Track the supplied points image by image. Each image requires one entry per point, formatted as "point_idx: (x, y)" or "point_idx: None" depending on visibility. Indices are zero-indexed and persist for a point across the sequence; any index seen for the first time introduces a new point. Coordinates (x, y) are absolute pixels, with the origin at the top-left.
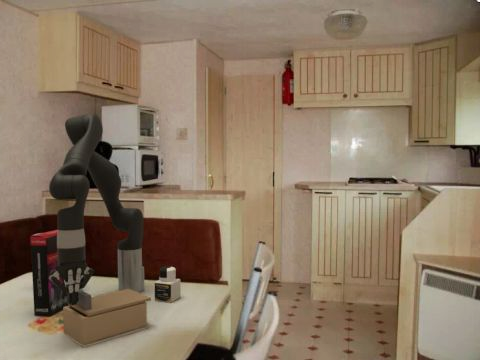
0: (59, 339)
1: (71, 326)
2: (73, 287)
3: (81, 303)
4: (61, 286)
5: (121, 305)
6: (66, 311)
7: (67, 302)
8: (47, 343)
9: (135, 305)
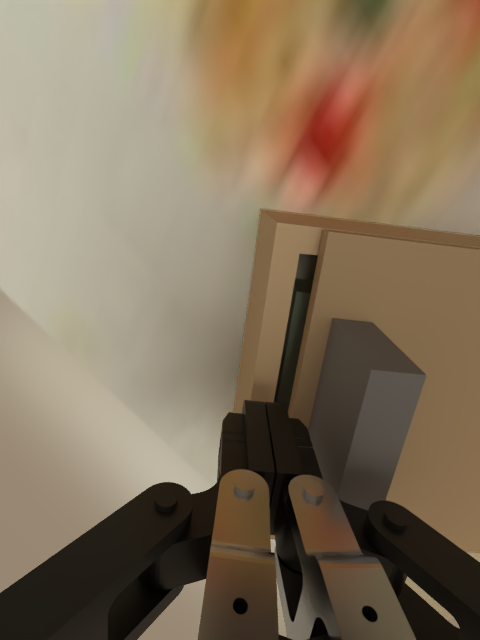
0: (208, 265)
1: (250, 330)
2: (292, 535)
3: (314, 445)
4: (109, 630)
5: (474, 551)
6: (265, 283)
7: (227, 415)
8: (147, 266)
9: None
